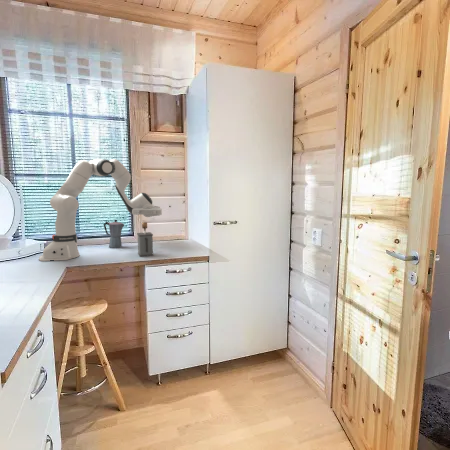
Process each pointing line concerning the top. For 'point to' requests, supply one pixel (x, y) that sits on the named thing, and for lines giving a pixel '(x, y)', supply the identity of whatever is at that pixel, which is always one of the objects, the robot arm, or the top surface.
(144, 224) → the plunger
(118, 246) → the moka pot
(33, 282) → the top surface
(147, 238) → the press
